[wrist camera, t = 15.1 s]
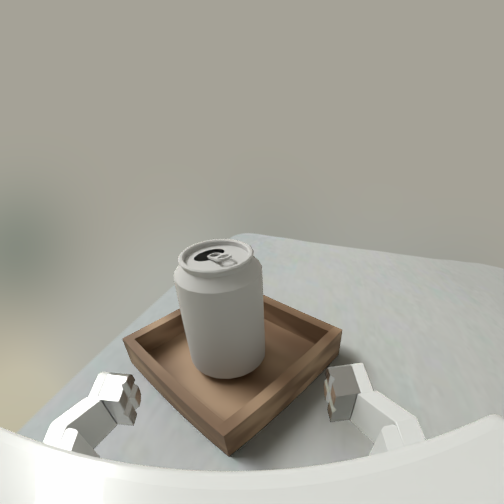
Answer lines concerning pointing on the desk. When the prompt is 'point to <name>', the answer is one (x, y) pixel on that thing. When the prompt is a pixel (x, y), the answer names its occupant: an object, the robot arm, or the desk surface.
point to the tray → (240, 388)
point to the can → (222, 307)
